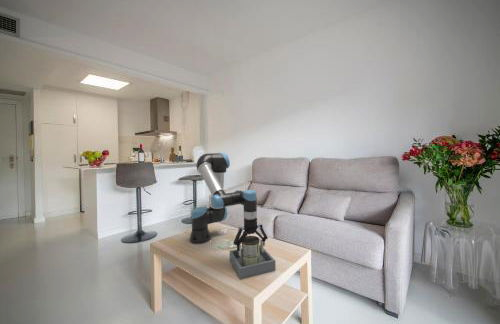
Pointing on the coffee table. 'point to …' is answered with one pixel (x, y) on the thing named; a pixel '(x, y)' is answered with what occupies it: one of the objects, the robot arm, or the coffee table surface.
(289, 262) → the coffee table surface
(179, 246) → the coffee table surface
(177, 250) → the coffee table surface
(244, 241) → the coffee can
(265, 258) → the bin
